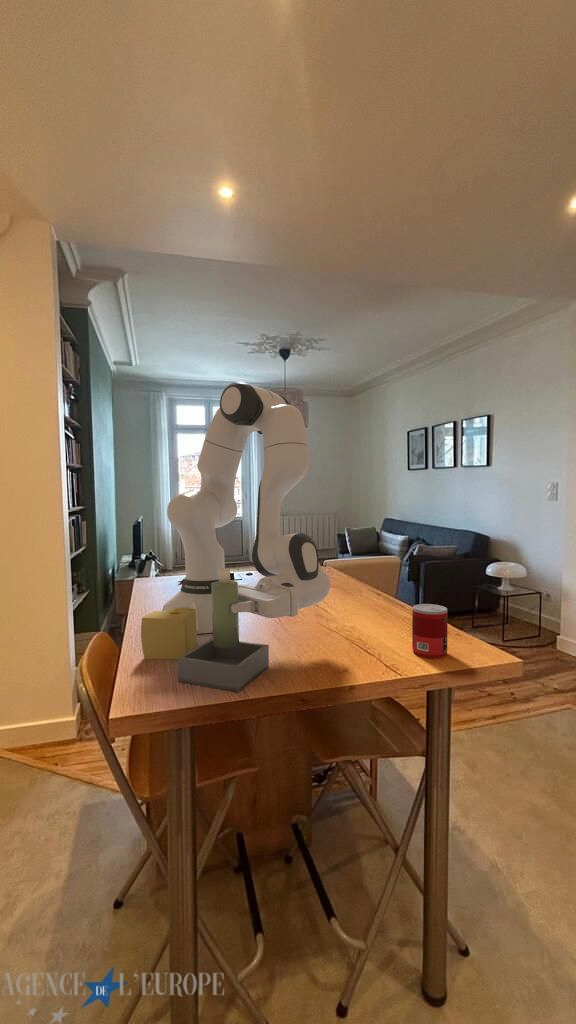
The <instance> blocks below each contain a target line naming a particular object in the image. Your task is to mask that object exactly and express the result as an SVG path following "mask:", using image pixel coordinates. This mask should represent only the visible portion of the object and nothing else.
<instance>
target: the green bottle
mask: <svg viewBox="0 0 576 1024" xmlns="http://www.w3.org/2000/svg"><path fill="white" fill-rule="evenodd" d="M218 573H219V581H217V582H213V583H211V589H212V624H213V632H212V639H213V646H214V647H217V648H231V647H235V646H237V645H238V644H239V641H240V629H239V628H240V625H239V623H240V622H239V621H240V620H239V612H238V613H232V612H230V611H229V604H231V603H238V585H239V583H238V581H237V580H231V569H230V568H229V567H225V568H220V569H218Z"/></svg>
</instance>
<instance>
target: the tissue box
mask: <svg viewBox="0 0 576 1024" xmlns="http://www.w3.org/2000/svg"><path fill="white" fill-rule="evenodd" d="M140 623H141V625H140V626H141V627H140V639H141V648H142V654H143V659H144V660H167V661H168V660H169V661H170V660H172V661H173V660H176V661H178V658H179V657H180V656H182V655H184V654H186V653H188V652H189V651H191V650H193V649H195V648H197V639H198V638H197V635H198V634H197V628H196V609H190V608H171V609H168V610H165V611H162V610H155V611H152V612H150V613H147V614H145V615H144V616H143V617H141V622H140Z"/></svg>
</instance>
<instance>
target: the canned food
mask: <svg viewBox="0 0 576 1024" xmlns="http://www.w3.org/2000/svg"><path fill="white" fill-rule="evenodd" d="M411 611H412V612H411V616H412V617H411V618H412V619H411V620H412V621H411V622H412V623H411V625H412V628H411V630H412V631H411V632H412V633H411V634H412V642H411V643H412V644H411V645H412V646H411V647H412V648H411V649H412V650H413V651H412V652H413V654H415V655H416V656H418V657H419V658H420V657H421V658H425V659H441V658H444V657H446V656H447V654H448V618H449V617H448V608H447V607H445V606H443V605H439V604H432V603H420V604H415V605H413V606H412V610H411Z"/></svg>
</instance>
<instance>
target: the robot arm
mask: <svg viewBox="0 0 576 1024" xmlns="http://www.w3.org/2000/svg"><path fill="white" fill-rule="evenodd" d="M220 395H221V396H220V399H219V407H218V409H216V411H215V414H214V415H213V417H212V419H211V422H210V424H209V426H208V428H207V431H206V435H205V437H204V440H203V443H202V448H201V451H200V454H199V457H198V461H197V471H198V472H199V473H200V476H201V477H200V478H201V479H200V489H199V490H196V491H194V490H189V491H185V492H182V493H178V494H177V495H175V496H173V497H172V498H171V499H170V500H169V502H168V505H167V509H166V515H167V518H168V521H169V523H170V524H171V526H172V527H173V528H175V530H177V532H178V534H179V537H180V539H181V543H182V546H183V551H184V564H185V565H184V567H185V577H184V578H183V579H181V580H179V581H177V583H178V584H177V586H181V587H180V591H178V592H177V593H176V594H175V595H174V596H172V598H170V599H169V600H167V601H166V602H165V603H164V604H163V605H162V609H161V611H165V610H168V609H171V608H190V609H196V628H197V635H199V634H210V633H213V624H212V589H211V583H213V582H217V581H219V573H218V569H220V568H226V566H225V563H226V562H225V550H224V548H223V546H222V545H220V543H219V541H218V539H217V535H216V530H215V529H217V528H218V529H219V528H222V527H224V526H226V525H228V524H230V523H231V522H233V521H234V519H235V518H236V517H237V514H238V505H237V501H236V500H235V484H236V483H235V482H236V479H237V478H236V477H237V474H238V469H239V467H240V463H241V459H242V456H243V454H244V450H245V446H246V443H247V439H248V437H249V436H250V435H251V434H253V433H254V432H257V433H258V435H262V438H263V451H264V452H263V453H264V454H263V456H264V458H263V459H264V461H263V471H262V475H261V479H260V481H259V485H258V491H257V508H256V510H257V511H256V529H255V530H256V531H255V532H256V533H255V540H254V543H253V547H252V552H251V559H252V562H253V563H252V564H253V566H254V568H255V570H256V571H257V572H258V573H259V574H260V575H261V576H263V577H261V578H259V580H258V581H257V583H256V584H255V586H252V585H248V584H238V603H231V604H229V611H230V612H232V613H238V614H239V613H251V614H254V615H257V616H261V617H264V618H267V619H274V618H275V619H276V618H284V617H291V618H292V617H296V616H298V615H299V610H300V609H301V610H302V609H305V608H308V607H312V606H314V605H317V604H319V603H321V602H322V601H324V600H325V599H326V597H327V596H328V595H329V593H330V589H331V581H330V577H329V575H328V574H327V572H326V571H325V570H324V568H323V567H322V565H321V564H320V558H319V552H318V551H319V550H318V547H317V544H316V542H315V540H314V539H313V538H312V537H311V536H310V535H308V534H307V533H304V532H297V533H289V534H284V535H281V533H280V532H281V531H280V530H281V528H280V527H281V508H282V503H283V501H284V499H285V497H286V495H287V494H289V492H290V491H291V490H292V489H293V488H294V487H295V486H296V485H298V484H299V483H300V482H301V481H302V480H303V479H304V477H305V476H306V475H307V473H308V471H309V465H310V454H309V453H310V452H309V443H308V437H307V436H308V434H307V429H306V425H305V420H304V418H303V414H302V412H301V411H300V409H299V408H298V407H296V406H294V405H292V404H291V402H290V401H289V400H288V399H286V397H284V396H283V395H280V394H277V393H275V392H273V391H271V390H270V389H267V388H264V387H259V386H256V385H253V384H252V385H251V383H248V382H243V381H238V382H232V383H230V384H228V385H227V386H226V387H225V388H224V390H223V391H222V392H221V394H220Z"/></svg>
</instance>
